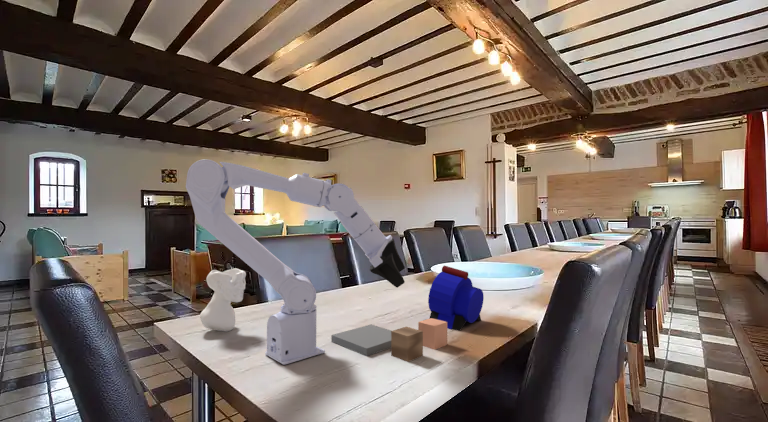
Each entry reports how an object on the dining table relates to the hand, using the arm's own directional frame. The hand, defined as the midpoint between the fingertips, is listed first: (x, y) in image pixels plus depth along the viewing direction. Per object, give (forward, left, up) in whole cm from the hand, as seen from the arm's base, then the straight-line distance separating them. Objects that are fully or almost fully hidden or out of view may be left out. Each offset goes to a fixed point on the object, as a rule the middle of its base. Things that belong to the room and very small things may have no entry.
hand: (401, 277), depth 81 cm
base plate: (-5, +5, -15) cm, 16 cm away
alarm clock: (+22, 0, -15) cm, 27 cm away
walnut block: (-5, -6, -15) cm, 17 cm away
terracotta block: (+4, -6, -15) cm, 16 cm away
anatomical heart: (-25, +36, -15) cm, 46 cm away
